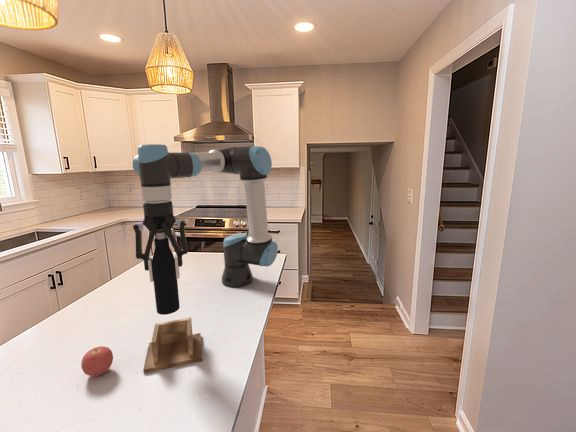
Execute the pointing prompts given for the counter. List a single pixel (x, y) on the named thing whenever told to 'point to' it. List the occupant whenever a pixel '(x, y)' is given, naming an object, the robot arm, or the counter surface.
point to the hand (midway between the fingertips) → (165, 278)
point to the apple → (97, 361)
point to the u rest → (173, 346)
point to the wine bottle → (164, 273)
